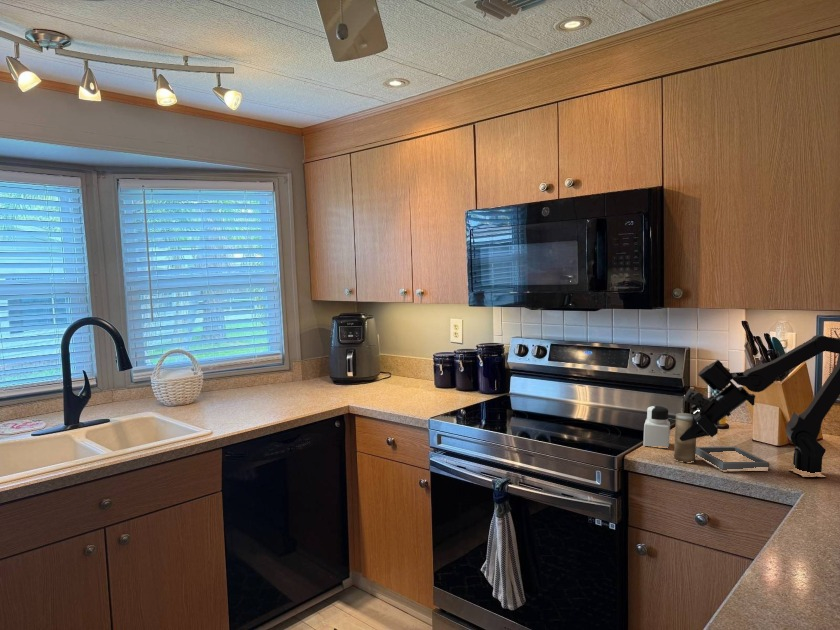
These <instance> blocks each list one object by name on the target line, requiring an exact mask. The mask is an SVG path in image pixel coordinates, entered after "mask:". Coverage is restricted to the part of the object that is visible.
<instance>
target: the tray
mask: <svg viewBox="0 0 840 630" xmlns="http://www.w3.org/2000/svg"><path fill="white" fill-rule="evenodd" d="M723 451H736V452H738V453H739V454H742V455H743V456H746V457H747V458H749V459H751V460H753V461H755V462H723V461H722V460H720V459H718V458H716V457H714V456H712V455H711V454H709V453H710V452H723ZM695 454H697V455H699V456H700V457H702V458H704V459H705V460H707V461H709V462H711V463H712V464H714V465H716V466H717V467H719V468H720V469H722V470H727V469H743V468H754V467H755V468H756V467H769V468H770V462H768V461H767V460H764V459H762V458H760V457H758V456H756V455H754V454H752V453H750V452H749V451H747V450H744V449H741V448H740V447H738V446H696V453H695Z"/></svg>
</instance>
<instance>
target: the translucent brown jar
mask: <svg viewBox="0 0 840 630" xmlns="http://www.w3.org/2000/svg"><path fill="white" fill-rule="evenodd" d="M695 416H696V415H693V414H690V413H686V412H684V413H683V412H679V413H676V414H675V430H674V432H675V433H674V449H673V451H674V452H673V460H674V459H676V460H678V461H683V462H691V461H694V460H695V461H696V457H695V453H696V447H697V438H694V439H690V440H685V441H681V440H680V437H681V436H682V434H683V433H684V432H685V431H686V430H687V429H688V428H689V427H690V426H691V425H692V417H695Z"/></svg>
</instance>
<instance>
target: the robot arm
mask: <svg viewBox="0 0 840 630" xmlns="http://www.w3.org/2000/svg"><path fill="white" fill-rule="evenodd" d="M823 352H829V353H833V354H838V356H837V360H836V364H835V366H834V368H833V370H832V371H831V373H830V374H829V376H828V377H827V378H826V380H825V382H824V383H823V384H822V386H821V387H820V389H819V390H818V392H817V393H816V395H815V396H814V398H813V399H812V400H811V402H810V403H809V404H808V407H807V408H806V409H805V410H804V411H803V412H802V413H800V414H798V413H797V412H793V413H792V415H791V417H790V419H789V421H787V422H785V425H786V428H785V433H786V434H785V435H786V436H787V438H788V439H789V440H790V442H792V444H793V445H794V447H795V448H794V453H793V463H792V465H793V464H794V465H795V468H797V469H799V470H802V471H807V472H810V473H815V472H822V471H823V457H824V454H825V453H826V452H827V451H826V448H825V447H824V446H822V444H821V443H819V441H818V437H819V435H820V433H821V428H822V425H823V420H824V419H825V417H826V416H827V415H828V413H829V412H830V410H831V409H832V407H833V406H834V405H835V403H836V402H837V400H838V399H839V397H840V338H838V337H831V336H826V335H823V334H816V335H813V336H812V338H810V339H808V340H807V341H805V342H804V343H801V344H799V345H798V346H796V347H794V348H793V349H791V350H789V351H787V352H786V353H784V354H782V355H780V356H778V357H777V358H775V359H773V360H771V361H769V362H765V363H761V364H757V365H754V366H752V367H749V368H747V369H745V370H744V371H741V372H739V371H737V372H730V371H729V370H728V369H727V367H725V366H724V364H723V363H722V362H721V361H720V360H719V359H716V360H715V361H714V362H712V363H710V364H708V365H706V366H704V367H703V368H702V369H701V370H700V371H699V372H698V374H697V376H698V377H700V379H701V380H703V382H704V383H705V384H707V386H708V387H709V388H710V389H712V390H713V391H714V390H717V391H718V392H719V391H720V392H719V393H717V394H716V395H710V396H709V397H707V396H706V395H704V393H700V392H699V391H696V390H694V389H692V388H688V389H687V392H686V393H685V395H684V397H683V399H684V401H685V402H687V403H689V404H692V405H691V409H690V413H689V414H693V415H696V416H695V417H692V425H691V426H690V427H689V428H688V429H687V430H686V431H685V432H684V433H683V434H682V436H681V437H680V440H681V441H685V440H690V439H694V438H696V439H697V438H698V439H699V438H702V437H703V438H704V437H709V436H710V437H711V438H713V437H715V436H716V435H717V434H718V425H719V424H720V423H719V422H720V421H722V420H723V419H724V418H726V417H729V416H731V415H732V412H734V410H736V409H737V408H739V407H740V406H741V405H742V404H744V403H746V401H747V402H748V403H749V404H750V405H751V406H755V399H756V395H755V394H754V393H760V392H763V391H765V390H766V389H767V388H769V387H770V386H771V385H773V384H774V383H775V381H777V379H778V378H779V377H781V376H782V375H783V374H784V373H785V374H786V372H789V371H790V370H792V369H794V368H796V367H798V366H799V365H801V364H803V363H806V362H807V361H809V360H810V359H812V358H814V357H816V356H817V355H820V354H822V353H823ZM732 381H734V382H735V384H734V382H732ZM737 385H739V387H738V386H737ZM744 387H746V388H744ZM746 389H747V390H748V391H750V392H753V393H749V392H748V391H747V390H746ZM721 390H722V391H721ZM693 410H694V411H693Z"/></svg>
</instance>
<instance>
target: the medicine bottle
mask: <svg viewBox="0 0 840 630" xmlns="http://www.w3.org/2000/svg"><path fill="white" fill-rule="evenodd" d="M646 411H647V412H646V413H647V414H646V419H645V422H644V426H643V444H642V445H645V446H662V447H669V448H670V433H671V422H670V421H669V409H668V408H666V407H664V406H660V405H652V406H651V405H650V406H649V407H647V409H646Z"/></svg>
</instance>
